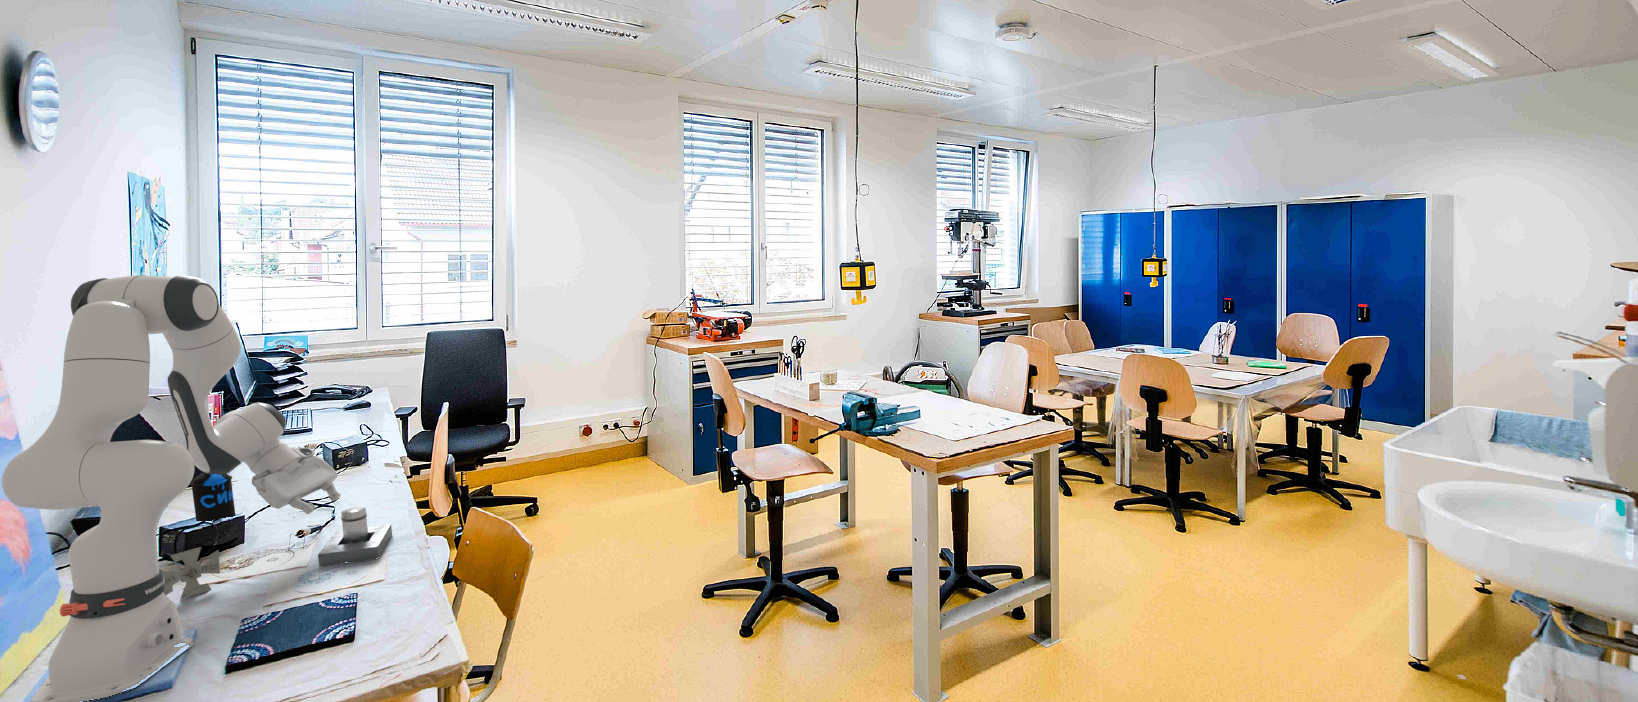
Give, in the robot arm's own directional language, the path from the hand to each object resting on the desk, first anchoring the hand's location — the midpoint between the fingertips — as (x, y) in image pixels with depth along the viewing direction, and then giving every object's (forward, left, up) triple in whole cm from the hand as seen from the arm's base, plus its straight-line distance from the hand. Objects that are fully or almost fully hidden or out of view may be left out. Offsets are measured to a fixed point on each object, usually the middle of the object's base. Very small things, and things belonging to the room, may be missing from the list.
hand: (325, 504), depth 178 cm
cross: (-17, +21, -12) cm, 29 cm away
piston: (-2, -6, -12) cm, 13 cm away
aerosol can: (+19, +29, -12) cm, 37 cm away
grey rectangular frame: (-2, -6, -12) cm, 13 cm away
